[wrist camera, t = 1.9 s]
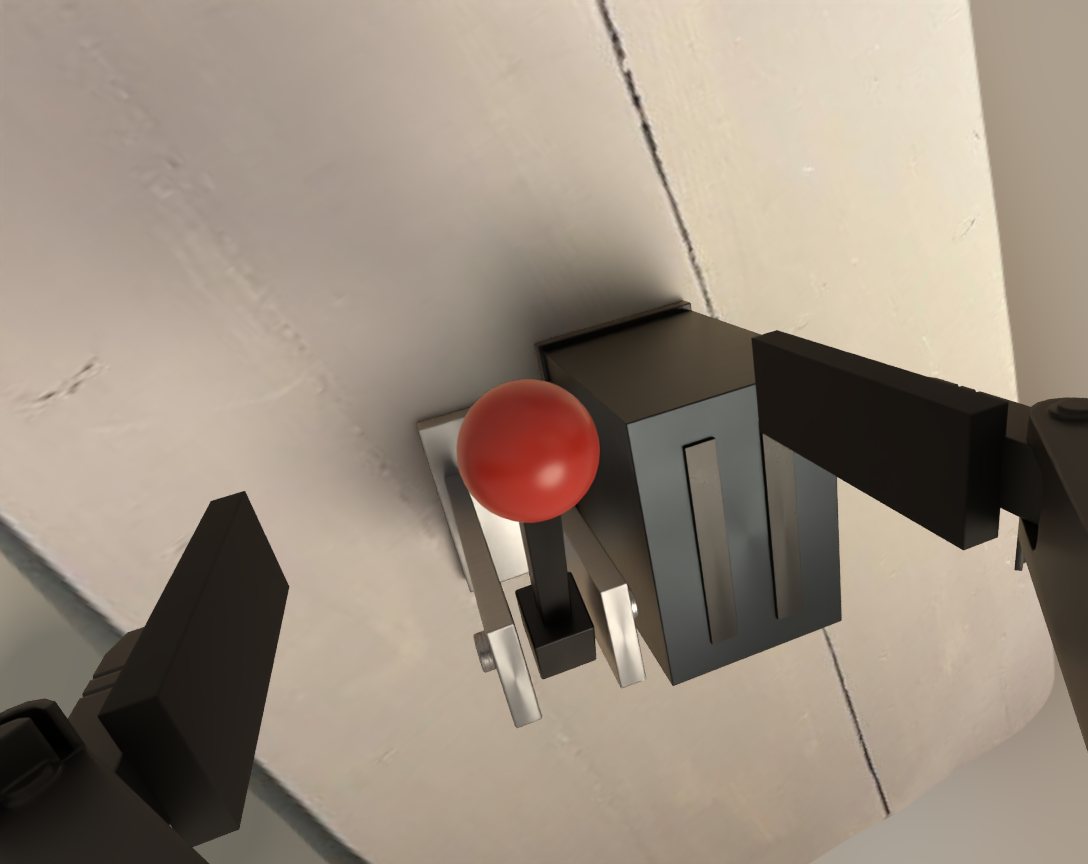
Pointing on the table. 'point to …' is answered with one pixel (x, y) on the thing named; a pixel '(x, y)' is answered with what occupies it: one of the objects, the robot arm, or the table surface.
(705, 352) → the toaster
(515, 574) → the bracket
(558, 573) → the lever
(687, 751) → the table surface
